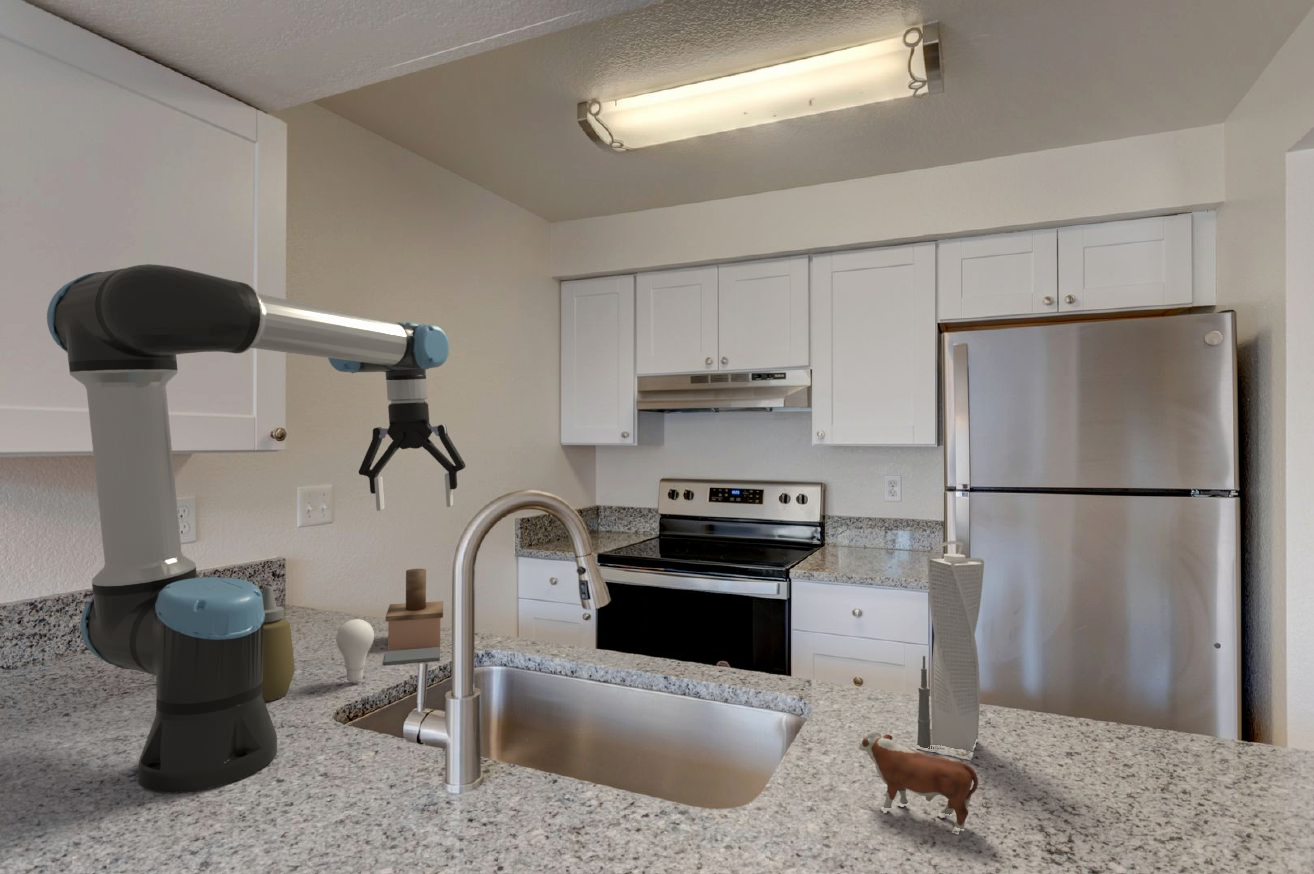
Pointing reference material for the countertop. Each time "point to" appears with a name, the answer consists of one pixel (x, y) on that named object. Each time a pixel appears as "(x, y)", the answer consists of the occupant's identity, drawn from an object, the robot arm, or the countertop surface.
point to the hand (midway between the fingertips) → (415, 507)
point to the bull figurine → (920, 775)
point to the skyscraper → (952, 653)
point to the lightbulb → (355, 646)
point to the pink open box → (414, 634)
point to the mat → (412, 656)
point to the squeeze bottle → (276, 649)
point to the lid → (415, 600)
